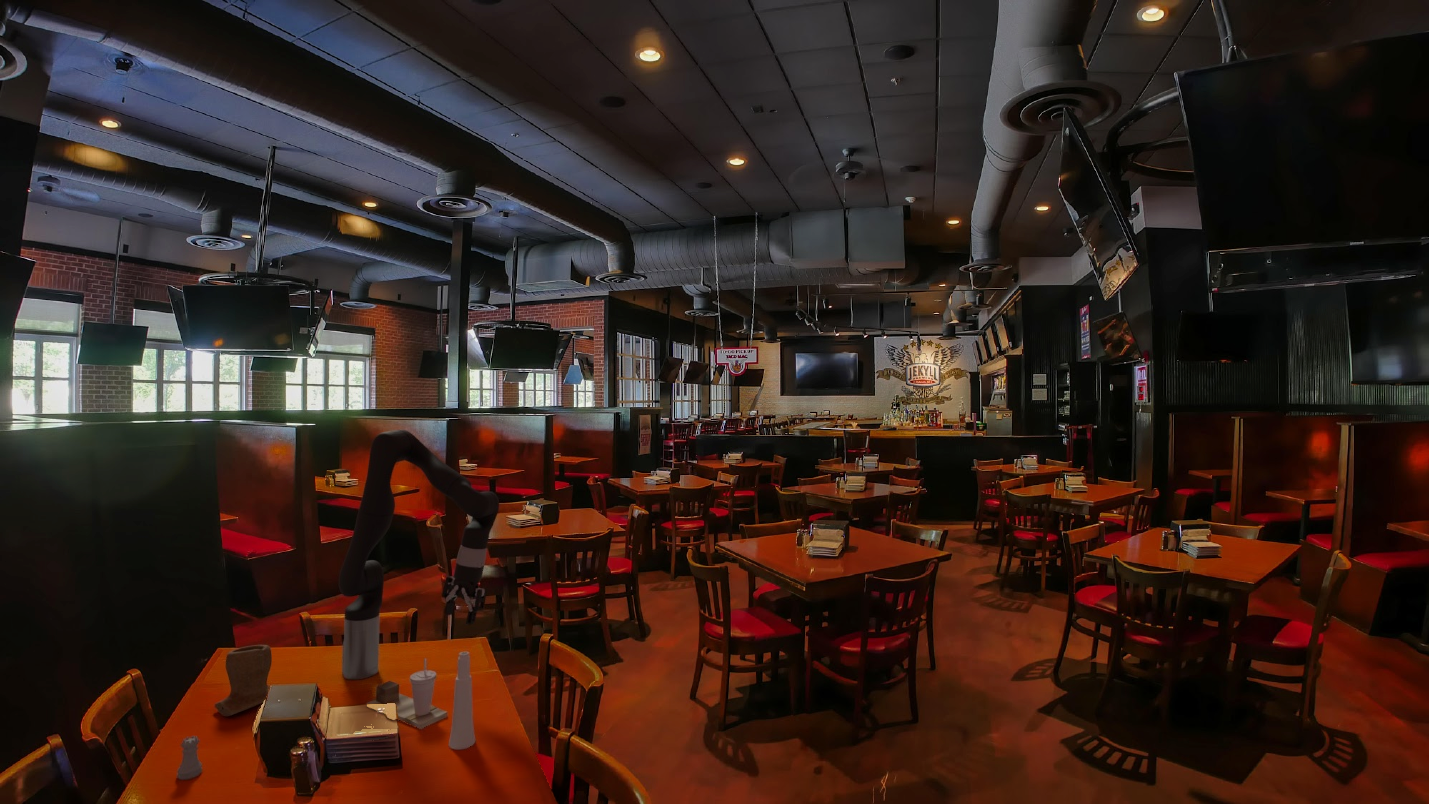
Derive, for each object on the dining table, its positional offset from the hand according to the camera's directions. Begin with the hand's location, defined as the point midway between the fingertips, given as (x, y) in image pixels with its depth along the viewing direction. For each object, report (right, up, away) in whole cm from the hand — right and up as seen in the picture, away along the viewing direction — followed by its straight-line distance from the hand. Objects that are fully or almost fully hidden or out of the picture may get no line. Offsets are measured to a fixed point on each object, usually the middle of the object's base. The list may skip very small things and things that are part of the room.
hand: (459, 619), depth 187 cm
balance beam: (-10, -21, -10) cm, 26 cm away
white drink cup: (-5, -20, -13) cm, 24 cm away
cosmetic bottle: (+10, -22, -25) cm, 35 cm away
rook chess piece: (-43, -21, -41) cm, 63 cm away
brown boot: (-54, -20, -9) cm, 58 cm away
